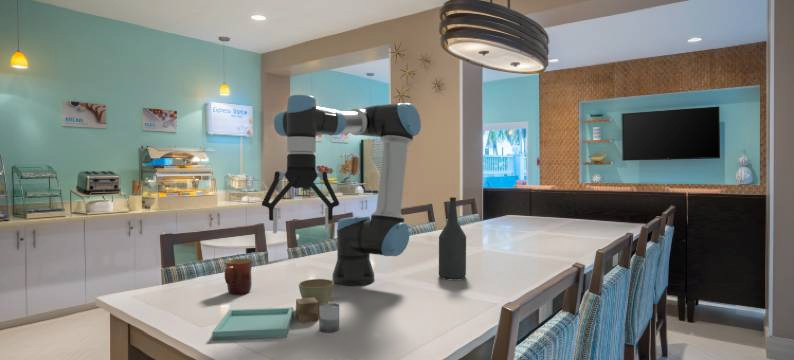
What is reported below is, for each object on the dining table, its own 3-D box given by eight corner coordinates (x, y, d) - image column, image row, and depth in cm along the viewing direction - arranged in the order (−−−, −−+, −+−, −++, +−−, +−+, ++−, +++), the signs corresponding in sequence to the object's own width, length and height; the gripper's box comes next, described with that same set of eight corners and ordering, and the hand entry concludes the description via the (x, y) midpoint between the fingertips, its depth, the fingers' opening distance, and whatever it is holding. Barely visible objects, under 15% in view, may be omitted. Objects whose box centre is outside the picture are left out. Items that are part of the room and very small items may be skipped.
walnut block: (314, 315, 125) (314, 297, 125) (318, 320, 120) (318, 302, 120) (296, 317, 123) (296, 299, 123) (299, 323, 118) (299, 304, 118)
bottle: (470, 276, 172) (471, 197, 171) (459, 281, 163) (460, 198, 163) (445, 272, 177) (446, 196, 176) (433, 277, 169) (434, 197, 168)
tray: (293, 314, 125) (293, 307, 125) (286, 337, 108) (286, 328, 108) (229, 317, 123) (229, 309, 123) (212, 340, 106) (212, 331, 106)
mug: (234, 288, 153) (234, 257, 153) (258, 289, 151) (258, 259, 151) (213, 297, 141) (213, 265, 141) (239, 299, 139) (238, 266, 139)
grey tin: (339, 325, 116) (339, 302, 116) (339, 332, 111) (339, 308, 111) (319, 326, 116) (319, 303, 116) (318, 333, 111) (318, 309, 111)
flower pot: (301, 302, 136) (301, 279, 136) (334, 302, 137) (334, 278, 137) (296, 313, 126) (296, 287, 126) (332, 312, 127) (332, 287, 127)
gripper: (347, 154, 127) (347, 230, 127) (255, 153, 124) (255, 231, 124) (348, 153, 120) (348, 233, 120) (250, 152, 116) (250, 234, 117)
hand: (301, 232), depth 122 cm, fingers open, 13 cm apart
